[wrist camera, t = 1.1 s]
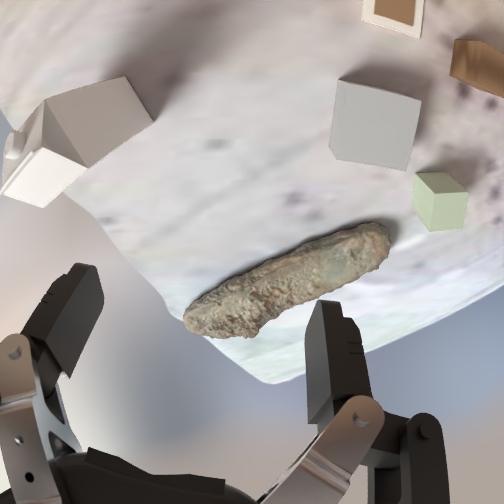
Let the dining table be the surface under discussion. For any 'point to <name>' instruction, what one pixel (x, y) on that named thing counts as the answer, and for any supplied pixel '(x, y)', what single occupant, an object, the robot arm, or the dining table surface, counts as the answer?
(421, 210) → the sage block
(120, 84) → the milk carton
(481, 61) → the walnut block
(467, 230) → the dining table surface
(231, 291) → the long grey stone
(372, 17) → the swatch
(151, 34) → the dining table surface
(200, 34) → the dining table surface
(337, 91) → the base block
